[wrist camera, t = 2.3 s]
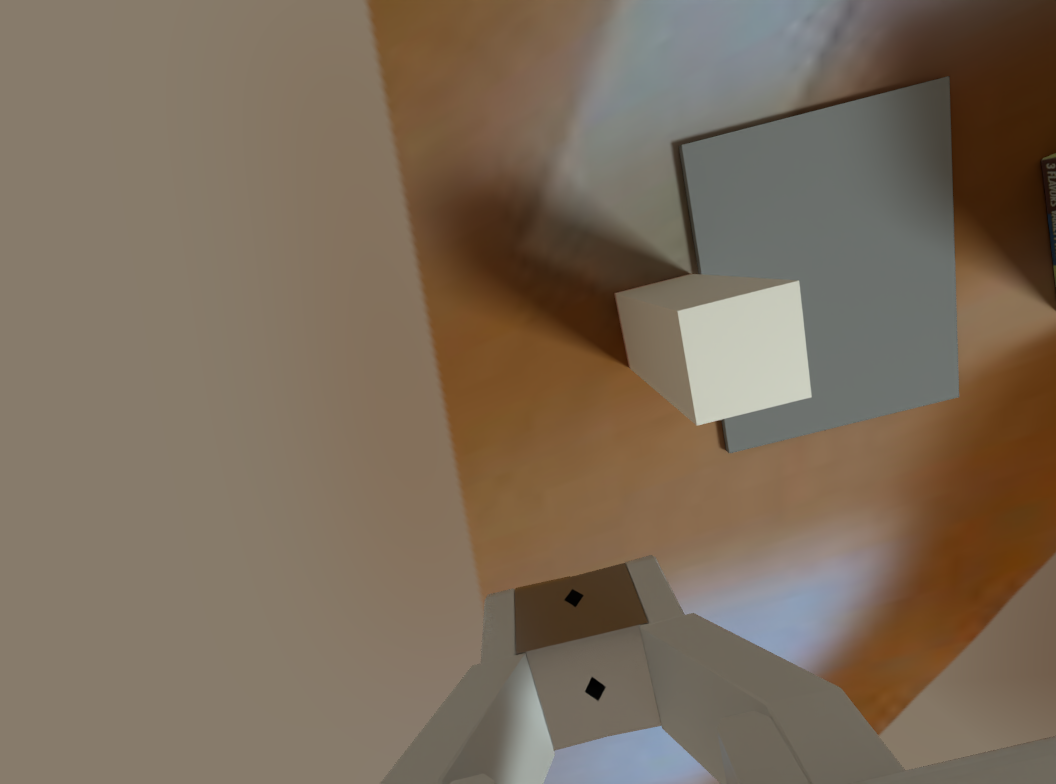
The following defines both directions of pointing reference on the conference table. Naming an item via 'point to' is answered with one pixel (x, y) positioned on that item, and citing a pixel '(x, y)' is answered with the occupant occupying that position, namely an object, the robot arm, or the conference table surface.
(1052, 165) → the protein box
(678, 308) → the tall block
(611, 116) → the conference table surface
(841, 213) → the mat
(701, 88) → the conference table surface
